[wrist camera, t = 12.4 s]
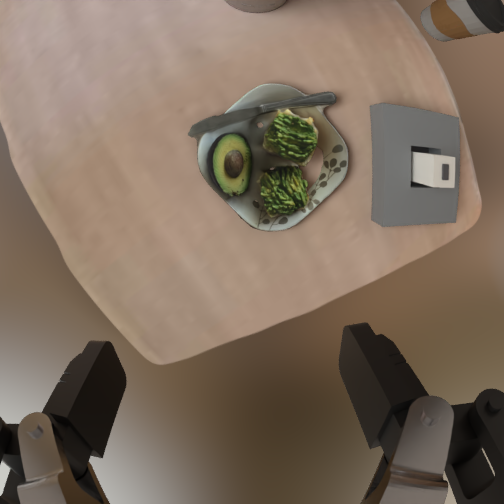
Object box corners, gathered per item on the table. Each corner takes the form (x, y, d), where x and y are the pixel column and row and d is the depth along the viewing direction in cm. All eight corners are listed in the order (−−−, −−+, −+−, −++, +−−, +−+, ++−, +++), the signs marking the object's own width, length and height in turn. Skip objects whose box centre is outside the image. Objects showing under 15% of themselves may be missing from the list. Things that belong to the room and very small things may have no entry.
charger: (403, 151, 33) (435, 154, 26) (424, 152, 33) (456, 157, 26) (403, 178, 34) (434, 187, 28) (424, 179, 35) (455, 188, 28)
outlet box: (369, 105, 31) (382, 102, 28) (444, 117, 31) (458, 117, 28) (371, 219, 37) (382, 226, 34) (442, 216, 37) (455, 222, 34)
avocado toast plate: (288, 51, 29) (296, 39, 24) (373, 154, 34) (390, 156, 30) (173, 146, 32) (164, 146, 28) (267, 244, 38) (272, 257, 34)
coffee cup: (458, 36, 26) (516, 21, 12) (440, 55, 27) (505, 39, 14) (426, -1, 23) (480, -28, 9) (406, 15, 25) (464, -16, 11)
